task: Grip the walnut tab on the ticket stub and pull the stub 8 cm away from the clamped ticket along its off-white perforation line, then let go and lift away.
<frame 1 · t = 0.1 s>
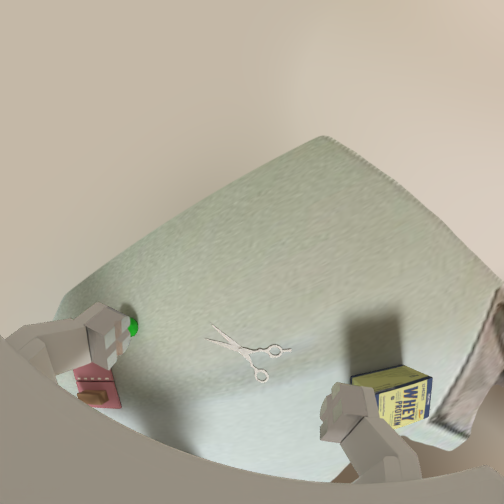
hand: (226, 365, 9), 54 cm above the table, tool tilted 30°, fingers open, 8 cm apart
protein box: (376, 388, 58), on the table
polyhedron: (133, 326, 63), on the table
ticket stub: (93, 396, 57), point 3 cm above the table, slide at 0.0 cm
scissors: (243, 349, 62), on the table
ticket: (88, 356, 62), on the table
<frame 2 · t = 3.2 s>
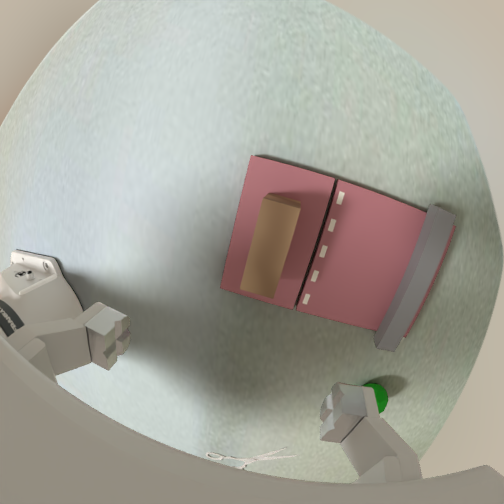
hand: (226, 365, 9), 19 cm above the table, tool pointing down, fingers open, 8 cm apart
polyhedron: (367, 388, 32), on the table
ticket stub: (272, 242, 24), point 3 cm above the table, slide at 0.0 cm
scissors: (252, 457, 42), on the table
ticket: (378, 265, 26), on the table
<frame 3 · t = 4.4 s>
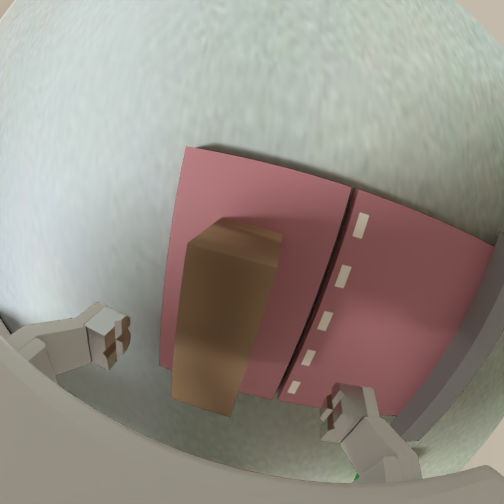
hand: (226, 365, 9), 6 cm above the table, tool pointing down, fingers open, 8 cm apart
ticket stub: (226, 314, 13), point 3 cm above the table, slide at 0.0 cm
ticket: (413, 332, 14), on the table
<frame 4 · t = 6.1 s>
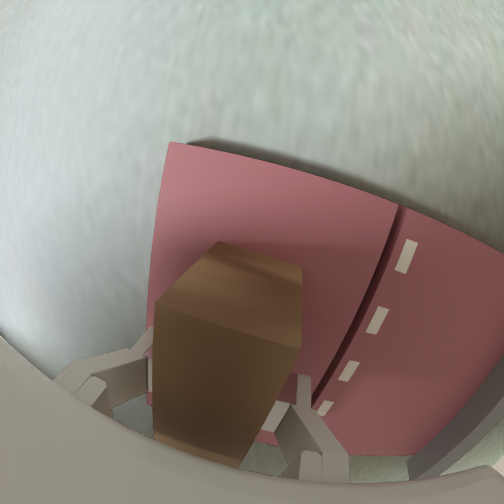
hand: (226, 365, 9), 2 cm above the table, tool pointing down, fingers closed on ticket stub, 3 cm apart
ticket stub: (224, 371, 9), point 3 cm above the table, slide at 0.0 cm, touching gripper
ticket: (444, 373, 11), on the table
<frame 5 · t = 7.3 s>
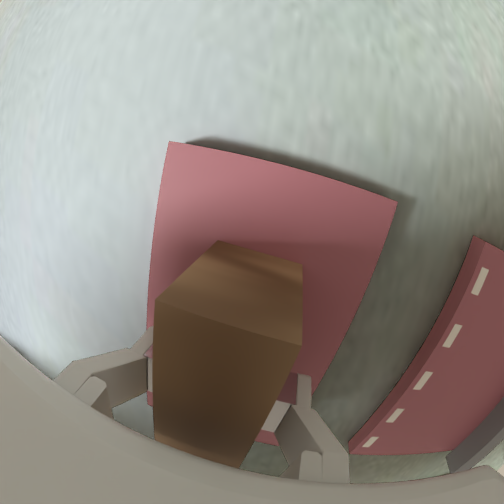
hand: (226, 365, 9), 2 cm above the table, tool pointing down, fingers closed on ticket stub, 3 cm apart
ticket stub: (224, 370, 9), point 3 cm above the table, slide at 4.2 cm, touching gripper
ticket: (486, 375, 10), on the table
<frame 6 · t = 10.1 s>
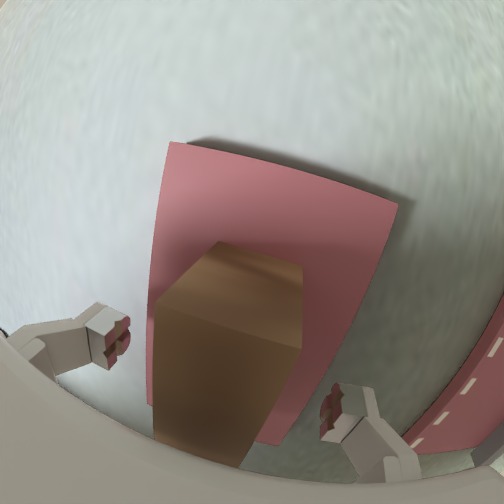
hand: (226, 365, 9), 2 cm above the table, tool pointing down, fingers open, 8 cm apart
ticket stub: (224, 371, 9), point 3 cm above the table, slide at 8.0 cm
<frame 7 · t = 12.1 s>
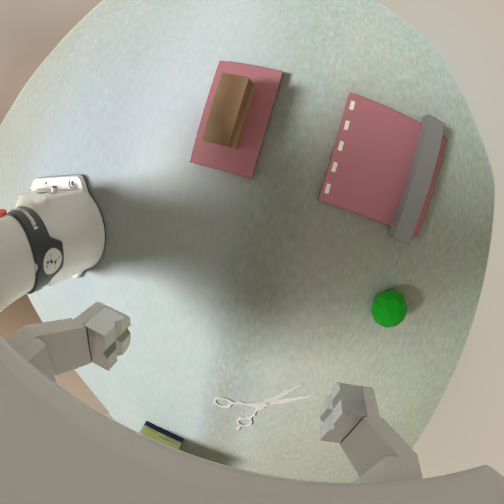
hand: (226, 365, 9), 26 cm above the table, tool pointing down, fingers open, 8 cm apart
protein box: (161, 439, 56), on the table
polyhedron: (384, 299, 35), on the table
ticket stub: (231, 112, 28), point 3 cm above the table, slide at 8.0 cm
scissors: (263, 402, 45), on the table
ticket: (386, 165, 29), on the table
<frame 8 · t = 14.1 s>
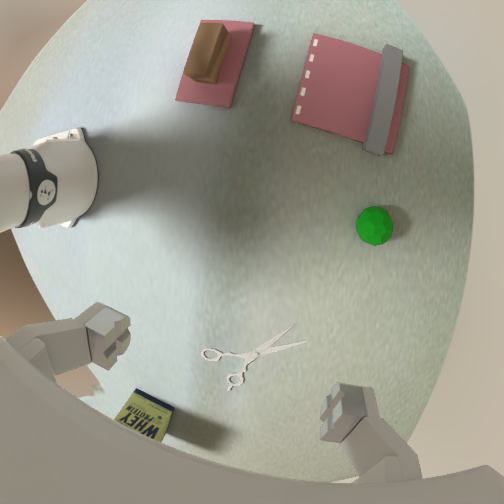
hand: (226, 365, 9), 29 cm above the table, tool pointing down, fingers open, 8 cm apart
protein box: (152, 411, 57), on the table
polyhedron: (369, 222, 35), on the table
ticket stub: (209, 54, 28), point 3 cm above the table, slide at 8.0 cm
scissors: (253, 353, 45), on the table
ticket: (353, 90, 29), on the table
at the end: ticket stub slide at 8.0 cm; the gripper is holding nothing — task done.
